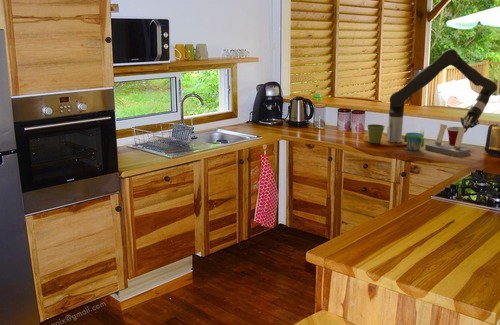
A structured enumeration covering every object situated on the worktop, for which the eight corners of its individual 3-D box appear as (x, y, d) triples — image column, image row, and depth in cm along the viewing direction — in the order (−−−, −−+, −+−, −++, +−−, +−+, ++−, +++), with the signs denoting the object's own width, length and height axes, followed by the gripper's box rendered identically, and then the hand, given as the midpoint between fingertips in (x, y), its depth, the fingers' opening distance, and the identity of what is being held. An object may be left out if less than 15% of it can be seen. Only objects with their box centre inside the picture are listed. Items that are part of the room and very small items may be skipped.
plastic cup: (441, 145, 363) (443, 127, 360) (454, 143, 367) (456, 125, 364) (452, 148, 353) (454, 130, 350) (466, 147, 357) (468, 128, 354)
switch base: (457, 156, 332) (458, 151, 331) (425, 149, 351) (425, 144, 350) (469, 154, 338) (470, 149, 338) (437, 146, 358) (437, 142, 357)
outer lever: (458, 149, 336) (463, 128, 335) (453, 147, 339) (458, 127, 338) (460, 149, 337) (465, 128, 336) (455, 148, 340) (460, 127, 339)
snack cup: (428, 151, 345) (429, 135, 342) (414, 153, 341) (415, 137, 339) (412, 146, 359) (413, 131, 357) (399, 147, 356) (400, 132, 353)
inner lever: (439, 144, 347) (445, 124, 347) (434, 143, 350) (440, 123, 349) (441, 145, 349) (447, 125, 348) (436, 144, 351) (442, 124, 351)
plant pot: (363, 143, 369) (364, 126, 366) (368, 139, 379) (369, 123, 376) (381, 145, 363) (382, 128, 361) (386, 141, 374) (387, 125, 371)
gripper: (464, 104, 345) (451, 126, 341) (484, 107, 334) (470, 129, 331) (469, 112, 349) (455, 133, 346) (488, 114, 339) (474, 137, 335)
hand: (463, 131), depth 338 cm, fingers closed
